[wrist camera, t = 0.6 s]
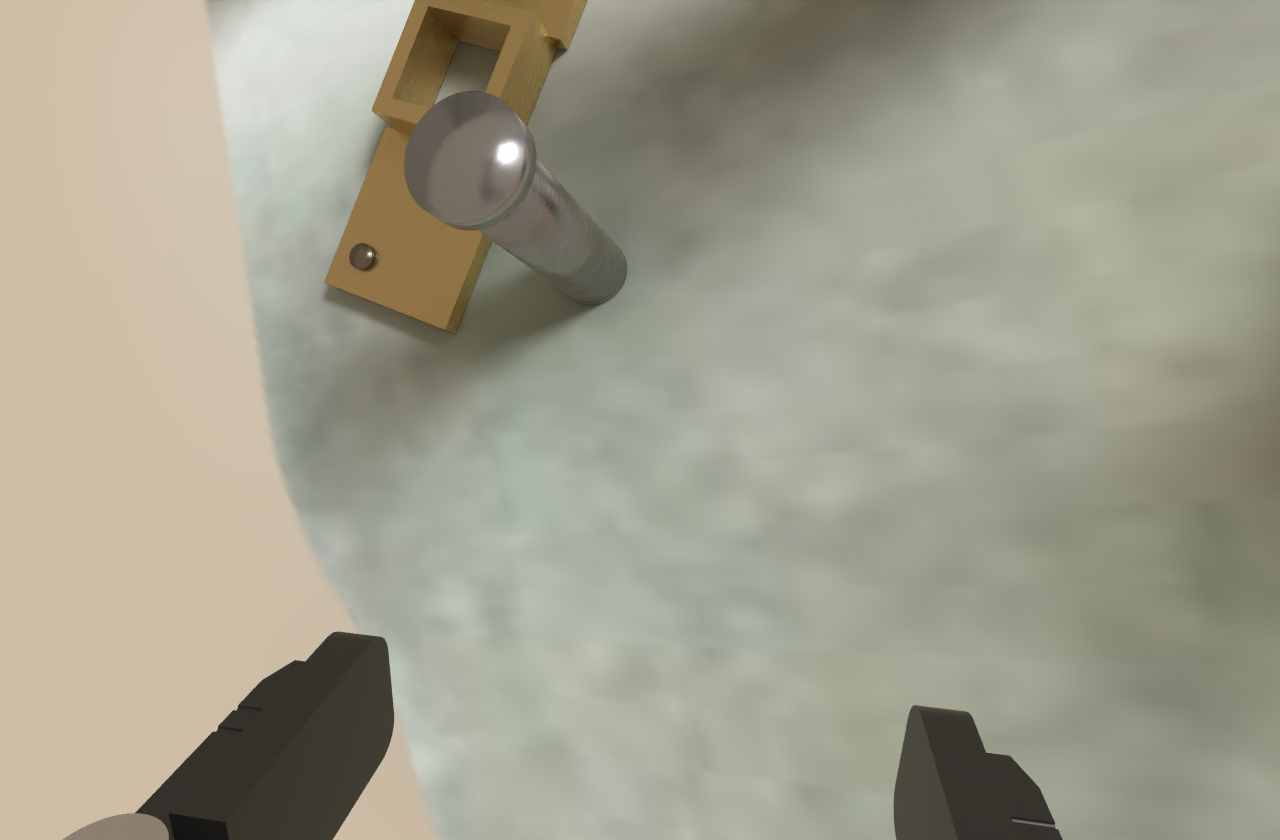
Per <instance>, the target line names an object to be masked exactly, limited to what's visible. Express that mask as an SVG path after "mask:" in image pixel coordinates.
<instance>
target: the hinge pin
mask: <svg viewBox="0 0 1280 840" xmlns="http://www.w3.org/2000/svg"><path fill="white" fill-rule="evenodd" d="M404 175H405V180H406V184H407V187H408V189H409V192H410V194H411V196H412V197H413V199H414V200H415V201H416V203H417V204H418V205H419V206H420V207H421V208H422V209H423V210H425V211H426V212H428V213H429V214H431V215H432V216H433V217H435V218H436V219H438V220H439V221H441V222H442V223H444V224H446V225H448V226H450V227H452V228H455V229H459V230H467V231H471V230H478V231H480V232H481V233H482V234H484V235H485V236H487V237H488V238H489V239H491V240H492V241H494V242H495V243H496V244H498V245H499V246H500V247H502V248H503V249H505V250H506V251H507V252H509V253H510V254H512V255H513V256H514V257H516V258H517V259H519V260H520V261H521V262H523V263H524V264H525V265H527V266H528V267H530V268H531V269H532V270H534V271H535V272H537V273H538V274H539V275H541V276H542V277H543V278H545V279H546V280H548V281H549V282H550V283H552V284H553V285H555V286H556V287H557V288H559V289H560V290H562V291H563V292H564V293H566V294H567V295H568V296H570V297H571V298H573V299H574V300H576V301H577V302H579V303H582V304H585V305H598V304H602V303H604V302H606V301H608V300H610V299H611V298H613V297H614V296H615V295H616V294H617V293H618V292H619V290H620V289H621V287H622V286H623V284H624V281H625V278H626V274H627V263H626V259H625V256H624V254H623V252H622V251H621V249H620V248H619V247H618V246H617V245H616V244H615V243H614V242H613V241H612V239H611V238H610V237H609V236H608V235H607V234H606V233H605V232H604V231H603V230H602V229H601V228H600V227H599V225H598V224H597V223H596V222H595V221H594V220H593V219H592V218H591V217H590V216H589V215H588V214H587V212H586V211H585V210H584V209H583V208H582V207H581V206H580V205H579V204H578V203H577V202H576V201H575V200H574V198H573V197H572V196H571V195H570V194H569V193H568V192H567V191H566V190H565V189H564V188H563V187H562V185H561V184H560V183H559V182H558V181H557V180H556V179H555V178H554V177H553V176H552V175H551V174H550V173H549V171H548V170H547V169H546V168H545V167H544V166H543V165H542V164H541V163H540V162H539V161H538V160H537V158H536V148H535V143H534V140H533V137H532V135H531V133H530V131H529V129H528V128H527V126H526V125H525V124H524V122H523V121H522V120H521V119H520V118H519V117H518V116H517V114H516V113H515V112H514V111H513V110H512V109H511V108H510V107H509V106H508V104H507V103H505V102H504V101H503V100H501V99H500V98H498V97H496V96H494V95H492V94H489V93H485V92H480V91H467V92H461V93H457V94H454V95H451V96H449V97H447V98H445V99H443V100H441V101H440V102H438V103H437V104H435V105H434V106H433V107H432V108H430V109H429V110H428V111H427V112H426V113H425V114H424V115H423V116H422V118H421V119H420V120H419V122H418V123H417V125H416V126H415V128H414V130H413V131H412V133H411V136H410V138H409V140H408V143H407V147H406V151H405V156H404Z"/></svg>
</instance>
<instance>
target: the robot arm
mask: <svg viewBox="0 0 1280 840" xmlns="http://www.w3.org/2000/svg"><path fill="white" fill-rule="evenodd" d="M393 726H394V709H393V698H392V687H391V676H390V665H389V654H388V646H387V643H386V641H385V639H384V638H382V637H377V636H369V635H361V634H353V633H345V632H334V633H332V634H331V635H330V636H328V637H327V638H326V639H325V641H324V642H323V643H322V644H321V645H320V646H319V647H318V648H317V649H316V650H315V651H314V653H313V654H312V655H311V656H310V657H309V658H308V659H307V660H306V661H305V662H304V661H297V660H295V661H293V662H291V663H290V664H288V665H286V666H285V667H283V668H282V669H280V670H278V671H277V672H275V673H273V674H272V675H270V676H268V677H267V678H265V679H263V680H262V681H261V682H260V683H259V684H258V685H257V686H256V687H255V688H254V689H253V690H252V691H251V692H250V693H249V695H248V696H247V697H246V698H245V699H244V700H243V701H242V702H241V703H240V704H239V705H238V709H237V710H236V711H235V710H233V711H232V712H231V713H230V714H229V715H228V716H227V718H226V719H225V720H224V721H223V722H222V723H221V724H220V725H219V726H218V730H217V732H212V733H211V734H210V735H209V736H208V738H206V740H204V742H203V743H202V744H201V745H200V746H199V747H198V748H197V749H196V750H195V751H194V752H193V753H192V754H191V755H190V756H189V757H188V758H187V759H186V760H185V761H184V763H183V764H182V765H181V766H180V767H179V768H178V769H177V770H176V771H175V772H174V773H173V774H172V775H171V776H170V777H169V778H168V779H167V780H166V781H165V782H164V783H163V784H162V786H161V787H160V788H159V789H158V790H157V791H156V792H155V793H154V794H153V795H152V796H151V797H150V798H149V799H148V800H147V801H146V802H145V803H144V804H143V805H142V806H141V807H140V808H139V810H138V811H137V812H135V813H134V814H124V815H123V814H122V815H116V816H112V817H109V818H105V819H102V820H100V821H97V822H94V823H92V824H89V825H87V826H85V827H83V828H81V829H79V830H77V831H76V832H74V833H72V834H70V835H69V836H67V837H66V838H64V839H63V840H333V838H334V837H335V835H336V833H337V832H338V830H339V829H340V827H341V825H342V824H343V822H344V821H345V819H346V817H347V816H348V814H349V813H350V811H351V809H352V808H353V806H354V805H355V803H356V801H357V800H358V798H359V797H360V795H361V793H362V792H363V790H364V789H365V787H366V785H367V784H368V782H369V781H370V779H371V778H372V776H373V774H374V772H375V771H376V770H377V768H378V766H379V765H380V763H381V761H382V760H383V758H384V756H385V754H386V752H387V749H388V747H389V744H390V741H391V737H392V732H393ZM894 825H895V833H896V839H897V840H1063V839H1062V837H1061V835H1060V833H1059V830H1057V829H1055V822H1054V819H1053V817H1052V815H1051V813H1050V810H1049V808H1048V806H1047V804H1046V802H1045V799H1044V797H1043V795H1042V793H1041V791H1040V788H1039V787H1038V786H1037V785H1036V784H1035V783H1034V781H1033V780H1032V779H1031V778H1030V777H1029V776H1028V775H1027V774H1026V773H1025V772H1024V771H1023V770H1022V768H1021V767H1020V766H1019V765H1018V764H1017V763H1016V762H1015V761H1014V760H1013V759H1012V758H1011V757H1010V756H1007V755H999V754H992V753H986V751H985V749H984V746H983V743H982V741H981V738H980V736H979V733H978V730H977V728H976V725H975V723H974V720H973V718H972V716H971V715H970V714H969V713H968V712H965V711H957V710H949V709H941V708H933V707H925V706H917V705H914V706H913V707H912V708H911V710H910V713H909V717H908V721H907V727H906V732H905V737H904V743H903V748H902V753H901V758H900V764H899V769H898V774H897V780H896V785H895V792H894Z"/></svg>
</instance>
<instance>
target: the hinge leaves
mask: <svg viewBox="0 0 1280 840" xmlns="http://www.w3.org/2000/svg"><path fill="white" fill-rule="evenodd" d="M586 2H587V0H415V2H414V4H413V7H412V9H411V12H410V14H409V17H408V19H407V22H406V24H405V27H404V30H403V32H402V35H401V37H400V40H399V42H398V45H397V47H396V50H395V52H394V55H393V57H392V60H391V62H390V65H389V68H388V70H387V73H386V75H385V78H384V80H383V83H382V85H381V88H380V90H379V93H378V95H377V98H376V101H375V103H374V106H373V108H372V111H373V112H374V113H375V114H376V115H378V116H379V117H380V118H381V119H383V120H384V121H385V122H386V123H387V124H389V125H390V126H391V127H392V128H394V129H392V128H389V127H385V130H384V133H383V135H382V138H381V140H380V143H379V145H378V148H377V150H376V153H375V155H374V158H373V160H372V163H371V165H370V168H369V171H368V173H367V176H366V178H365V181H364V183H363V186H362V188H361V191H360V193H359V196H358V198H357V201H356V203H355V206H354V209H353V211H352V214H351V216H350V219H349V221H348V224H347V226H346V229H345V231H344V234H343V236H342V239H341V242H340V244H339V247H338V249H337V252H336V254H335V257H334V259H333V262H332V264H331V267H330V269H329V272H328V274H327V277H326V280H325V282H324V283H327V284H329V285H332V286H334V287H337V288H339V289H342V290H344V291H347V292H349V293H352V294H354V295H357V296H359V297H362V298H365V299H367V300H370V301H372V302H375V303H377V304H380V305H382V306H385V307H387V308H390V309H393V310H395V311H398V312H400V313H403V314H405V315H408V316H410V317H413V318H415V319H418V320H421V321H423V322H426V323H428V324H431V325H433V326H436V327H438V328H441V329H443V330H446V331H449V332H451V333H454V334H455V333H456V331H457V328H458V326H459V323H460V320H461V318H462V315H463V313H464V310H465V308H466V305H467V303H468V300H469V298H470V295H471V293H472V290H473V288H474V285H475V283H476V280H477V277H478V275H479V272H480V270H481V267H482V265H483V262H484V260H485V257H486V255H487V252H488V250H489V247H490V245H491V242H492V240H491V239H489V238H488V237H487V236H485V235H484V234H482V233H481V232H480V231H478V230H471V231H467V230H459V229H455V228H452V227H450V226H448V225H446V224H444V223H442V222H441V221H439V220H438V219H436V218H435V217H433V216H432V215H431V214H429V213H428V212H426V211H425V210H423V209H422V208H421V207H420V206H419V205H418V204H417V203H416V201H415V200H414V199H413V197H412V196H411V194H410V192H409V189H408V187H407V184H406V180H405V175H404V156H405V151H406V147H407V143H408V140H409V138H410V136H411V133H412V131H413V130H414V128H415V126H416V125H417V123H418V122H419V120H420V119H421V118H422V116H423V115H424V114H425V113H426V112H427V111H428V110H429V109H430V108H432V107H433V104H434V102H435V99H436V97H437V94H438V92H439V89H440V86H441V84H442V81H443V79H444V76H445V74H446V71H447V69H448V66H449V64H450V61H451V59H452V56H453V54H454V51H455V48H456V46H457V43H458V41H460V42H464V43H468V44H472V45H476V46H480V47H484V48H488V49H492V50H496V51H500V52H501V53H500V55H499V58H498V60H497V63H496V65H495V68H494V70H493V73H492V76H491V78H490V81H489V83H488V86H487V88H486V91H485V93H489V94H492V95H494V96H496V97H498V98H500V99H501V100H503V101H504V102H505V103H507V104H508V106H509V107H510V108H511V109H512V110H513V111H514V112H515V113H516V114H517V116H518V117H519V118H520V119H521V120H522V121H523V122H524V124H525V125H526V126H527V124H528V121H529V119H530V116H531V114H532V111H533V108H534V106H535V103H536V101H537V98H538V96H539V93H540V91H541V88H542V86H543V83H544V81H545V78H546V76H547V73H548V71H549V68H550V65H551V63H552V60H553V58H554V55H555V53H556V50H557V48H559V49H563V50H568V47H569V45H570V42H571V40H572V37H573V35H574V32H575V30H576V27H577V25H578V22H579V20H580V17H581V15H582V12H583V9H584V7H585V4H586Z"/></svg>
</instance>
